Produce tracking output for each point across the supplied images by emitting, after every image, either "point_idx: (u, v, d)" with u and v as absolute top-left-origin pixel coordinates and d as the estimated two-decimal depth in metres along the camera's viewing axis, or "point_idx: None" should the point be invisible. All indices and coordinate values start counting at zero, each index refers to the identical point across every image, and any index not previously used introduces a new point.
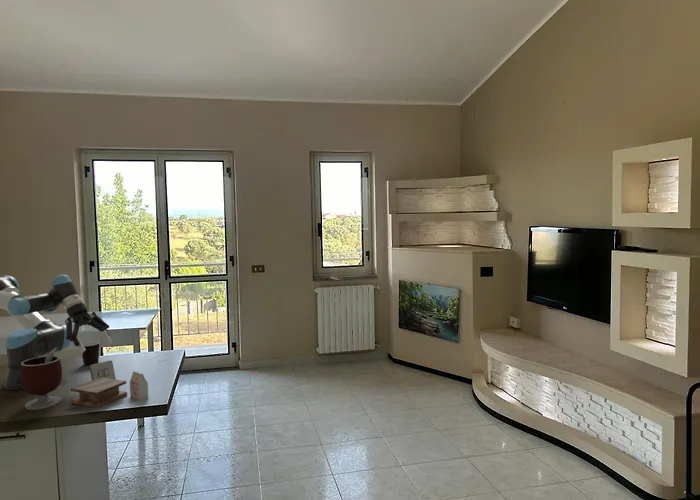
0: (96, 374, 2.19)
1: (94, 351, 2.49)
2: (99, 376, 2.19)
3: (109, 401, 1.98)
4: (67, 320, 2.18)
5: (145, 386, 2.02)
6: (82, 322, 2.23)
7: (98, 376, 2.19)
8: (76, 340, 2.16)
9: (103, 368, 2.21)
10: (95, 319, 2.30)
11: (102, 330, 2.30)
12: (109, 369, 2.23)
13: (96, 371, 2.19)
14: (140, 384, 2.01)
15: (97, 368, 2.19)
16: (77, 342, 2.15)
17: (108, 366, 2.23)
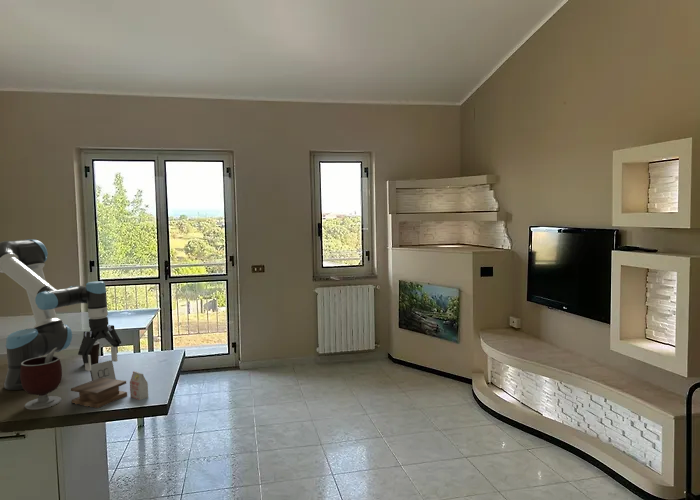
0: (96, 374, 2.19)
1: (94, 351, 2.49)
2: (99, 376, 2.19)
3: (109, 401, 1.98)
4: (86, 334, 2.14)
5: (145, 386, 2.02)
6: (99, 337, 2.19)
7: (98, 376, 2.19)
8: (86, 358, 2.13)
9: (103, 368, 2.21)
10: (111, 332, 2.26)
11: (113, 345, 2.27)
12: (109, 369, 2.23)
13: (96, 371, 2.19)
14: (140, 384, 2.01)
15: (97, 368, 2.19)
16: (86, 360, 2.14)
17: (108, 366, 2.23)
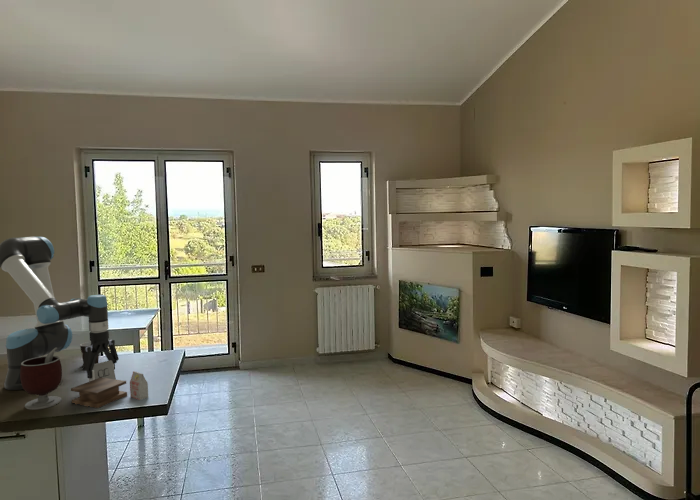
0: (96, 374, 2.19)
1: None
2: (99, 376, 2.19)
3: (109, 401, 1.98)
4: (87, 350, 2.14)
5: (145, 386, 2.02)
6: None
7: (98, 376, 2.19)
8: (90, 373, 2.16)
9: (103, 368, 2.21)
10: (111, 347, 2.26)
11: None
12: (109, 369, 2.23)
13: (96, 371, 2.19)
14: (140, 384, 2.01)
15: (97, 368, 2.19)
16: (90, 375, 2.16)
17: (108, 366, 2.23)
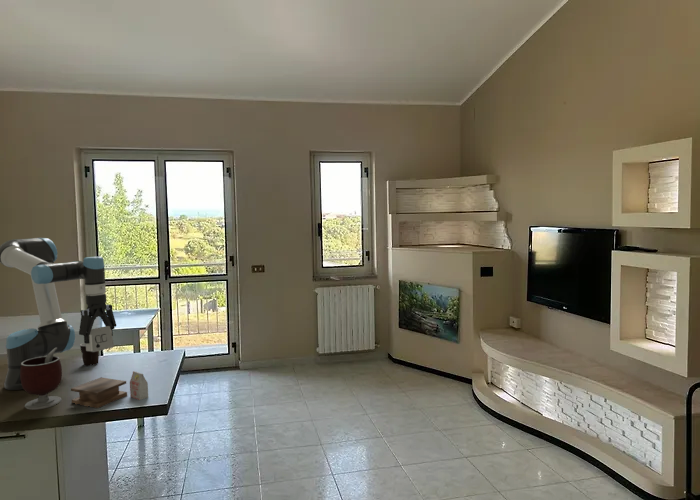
0: (93, 339, 2.08)
1: None
2: (96, 342, 2.09)
3: (109, 401, 1.98)
4: (83, 313, 2.04)
5: (145, 386, 2.02)
6: None
7: (95, 341, 2.08)
8: (87, 338, 2.05)
9: (100, 333, 2.11)
10: (108, 312, 2.16)
11: None
12: (107, 335, 2.13)
13: (93, 337, 2.08)
14: (140, 384, 2.01)
15: (94, 333, 2.09)
16: (87, 340, 2.05)
17: (105, 332, 2.13)
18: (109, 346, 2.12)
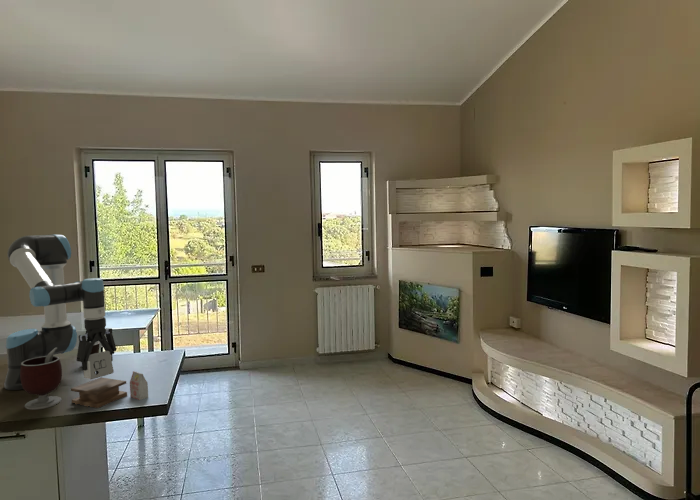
0: (92, 366, 1.98)
1: (94, 351, 2.49)
2: (95, 368, 1.98)
3: (109, 401, 1.98)
4: (81, 338, 1.94)
5: (145, 386, 2.02)
6: None
7: (94, 368, 1.98)
8: (85, 364, 1.95)
9: (99, 359, 2.00)
10: (108, 336, 2.05)
11: None
12: (106, 360, 2.02)
13: (91, 363, 1.98)
14: (140, 384, 2.01)
15: (93, 359, 1.99)
16: (85, 367, 1.95)
17: (105, 357, 2.02)
18: (108, 372, 2.02)
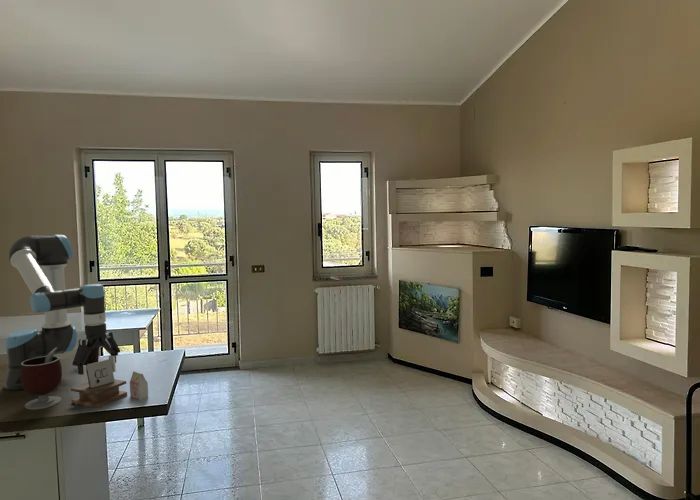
0: (93, 374, 1.98)
1: (94, 351, 2.49)
2: (96, 377, 1.99)
3: (109, 401, 1.98)
4: (81, 342, 1.94)
5: (145, 386, 2.02)
6: (95, 346, 1.99)
7: (95, 377, 1.99)
8: (81, 369, 1.93)
9: (100, 368, 2.01)
10: (109, 340, 2.06)
11: (111, 353, 2.07)
12: (107, 369, 2.03)
13: (93, 372, 1.99)
14: (140, 384, 2.01)
15: (94, 368, 1.99)
16: (81, 371, 1.94)
17: (106, 366, 2.03)
18: (109, 381, 2.02)
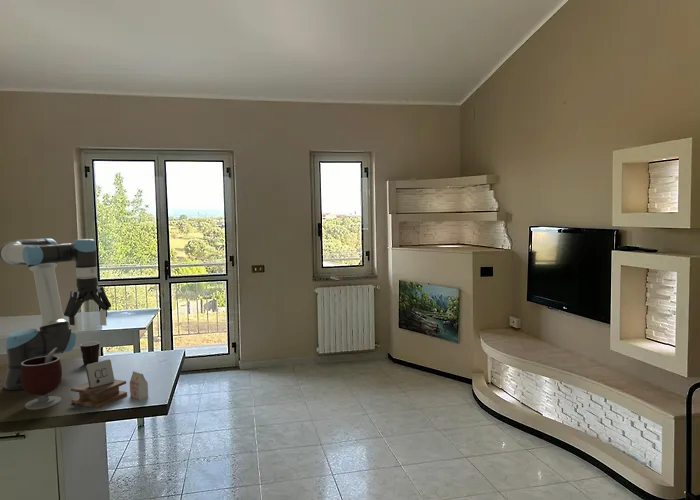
0: (93, 374, 1.98)
1: (94, 351, 2.49)
2: (96, 377, 1.99)
3: (109, 401, 1.98)
4: (73, 294, 2.00)
5: (145, 386, 2.02)
6: (87, 299, 2.05)
7: (95, 377, 1.99)
8: (72, 319, 2.00)
9: (100, 368, 2.01)
10: (101, 294, 2.12)
11: (102, 308, 2.14)
12: (107, 369, 2.03)
13: (93, 372, 1.99)
14: (140, 384, 2.01)
15: (94, 368, 1.99)
16: (73, 322, 2.00)
17: (106, 366, 2.03)
18: (109, 381, 2.02)
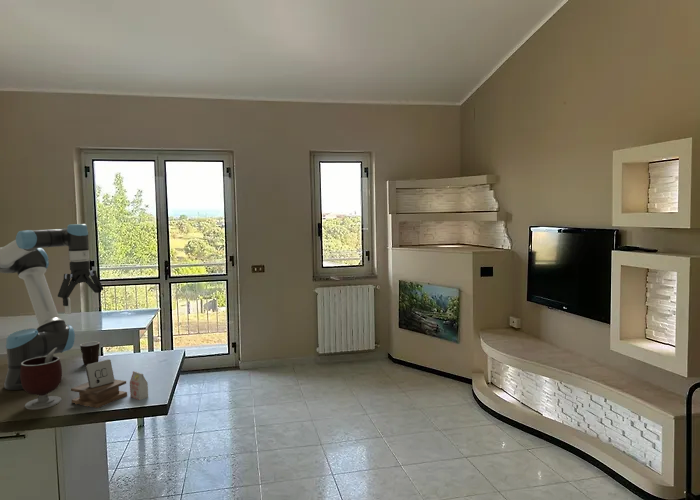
0: (93, 374, 1.98)
1: (94, 351, 2.49)
2: (96, 377, 1.99)
3: (109, 401, 1.98)
4: (66, 276, 2.08)
5: (145, 386, 2.02)
6: (79, 281, 2.14)
7: (95, 377, 1.99)
8: (66, 300, 2.08)
9: (100, 368, 2.01)
10: (93, 278, 2.21)
11: (95, 291, 2.22)
12: (107, 369, 2.03)
13: (93, 372, 1.99)
14: (140, 384, 2.01)
15: (94, 368, 1.99)
16: (66, 303, 2.08)
17: (106, 366, 2.03)
18: (109, 381, 2.02)
